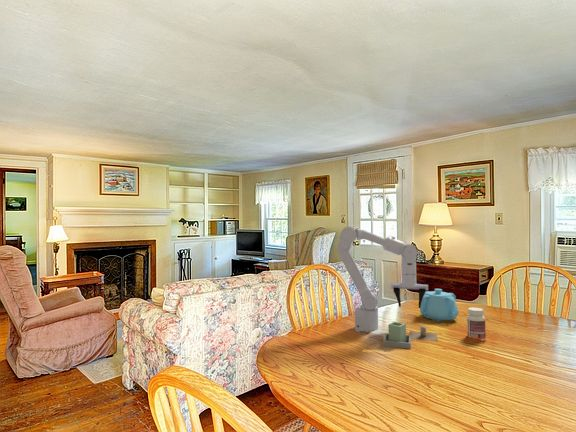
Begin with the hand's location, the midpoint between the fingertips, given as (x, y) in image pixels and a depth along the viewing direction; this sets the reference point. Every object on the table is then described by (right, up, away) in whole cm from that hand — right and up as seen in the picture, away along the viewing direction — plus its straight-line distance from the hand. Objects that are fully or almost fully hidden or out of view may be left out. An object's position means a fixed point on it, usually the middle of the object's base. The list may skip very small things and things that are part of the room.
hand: (409, 306), depth 149 cm
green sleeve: (-10, -9, -16) cm, 21 cm away
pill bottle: (+22, -10, -11) cm, 26 cm away
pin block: (+2, -10, -9) cm, 14 cm away
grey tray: (-10, -10, -16) cm, 21 cm away
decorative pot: (+19, -10, +18) cm, 28 cm away
